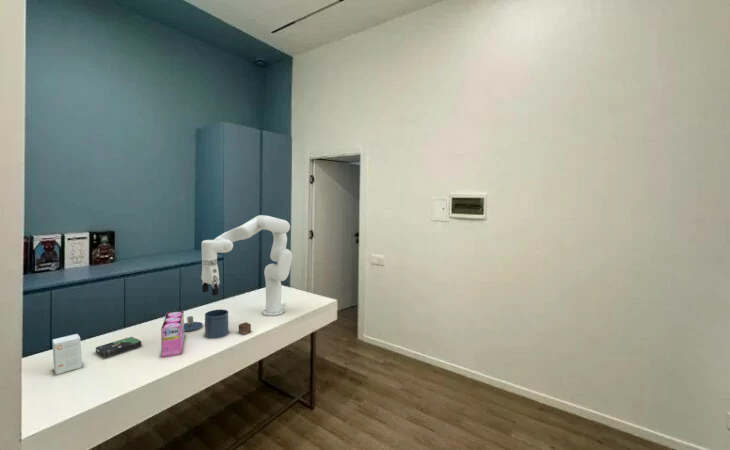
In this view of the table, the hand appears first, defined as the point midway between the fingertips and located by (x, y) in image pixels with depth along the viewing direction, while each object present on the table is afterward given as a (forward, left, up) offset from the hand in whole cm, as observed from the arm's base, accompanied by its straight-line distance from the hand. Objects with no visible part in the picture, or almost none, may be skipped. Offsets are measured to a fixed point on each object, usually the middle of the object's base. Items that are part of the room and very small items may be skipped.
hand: (210, 293), depth 175 cm
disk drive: (+38, -12, -21) cm, 45 cm away
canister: (+1, +8, -20) cm, 22 cm away
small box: (+57, -9, -21) cm, 62 cm away
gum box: (+21, +4, -21) cm, 30 cm away
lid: (+6, -11, -20) cm, 23 cm away
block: (-9, +18, -20) cm, 29 cm away
